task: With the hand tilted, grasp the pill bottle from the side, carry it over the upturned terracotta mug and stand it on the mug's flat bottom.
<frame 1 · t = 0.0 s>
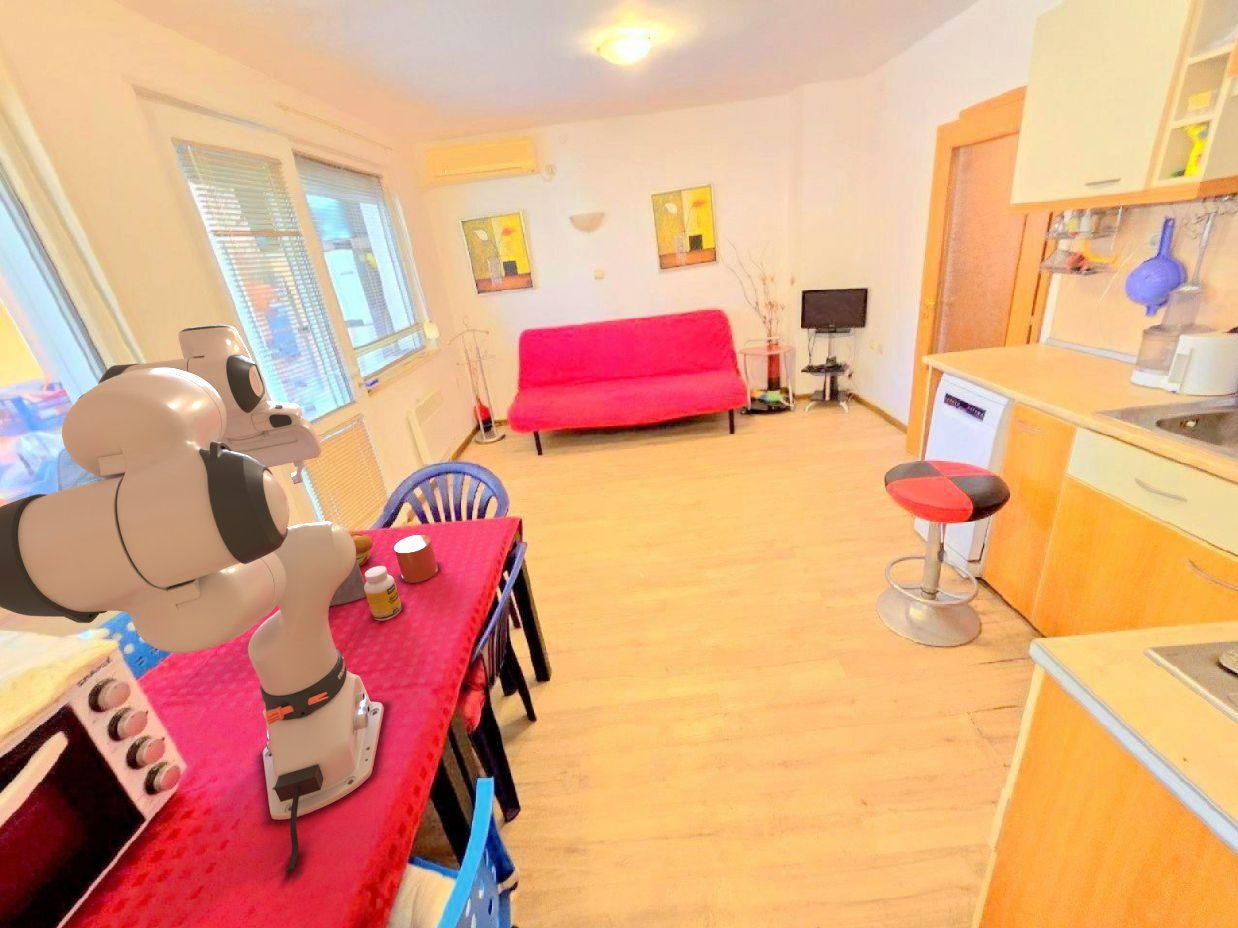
hand: (270, 488, 94), 39 cm above the table, tool pointing down, fingers open, 8 cm apart
pill bottle: (388, 613, 120), on the table
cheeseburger: (354, 562, 143), on the table
hip flask: (333, 602, 126), on the table
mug: (420, 572, 135), on the table
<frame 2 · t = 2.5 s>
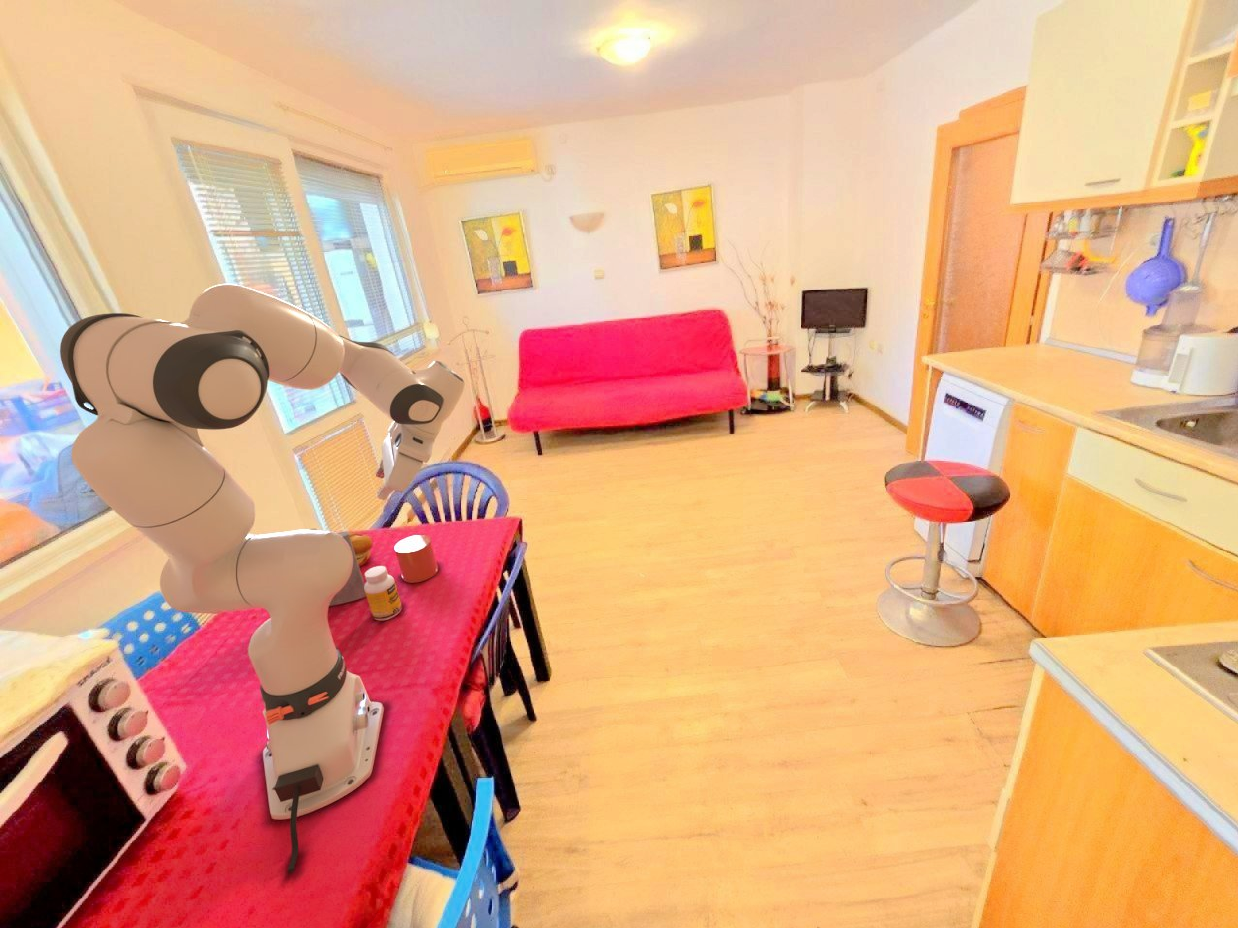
hand: (379, 486, 108), 32 cm above the table, tool tilted 40°, fingers open, 8 cm apart
nothing on the table moved.
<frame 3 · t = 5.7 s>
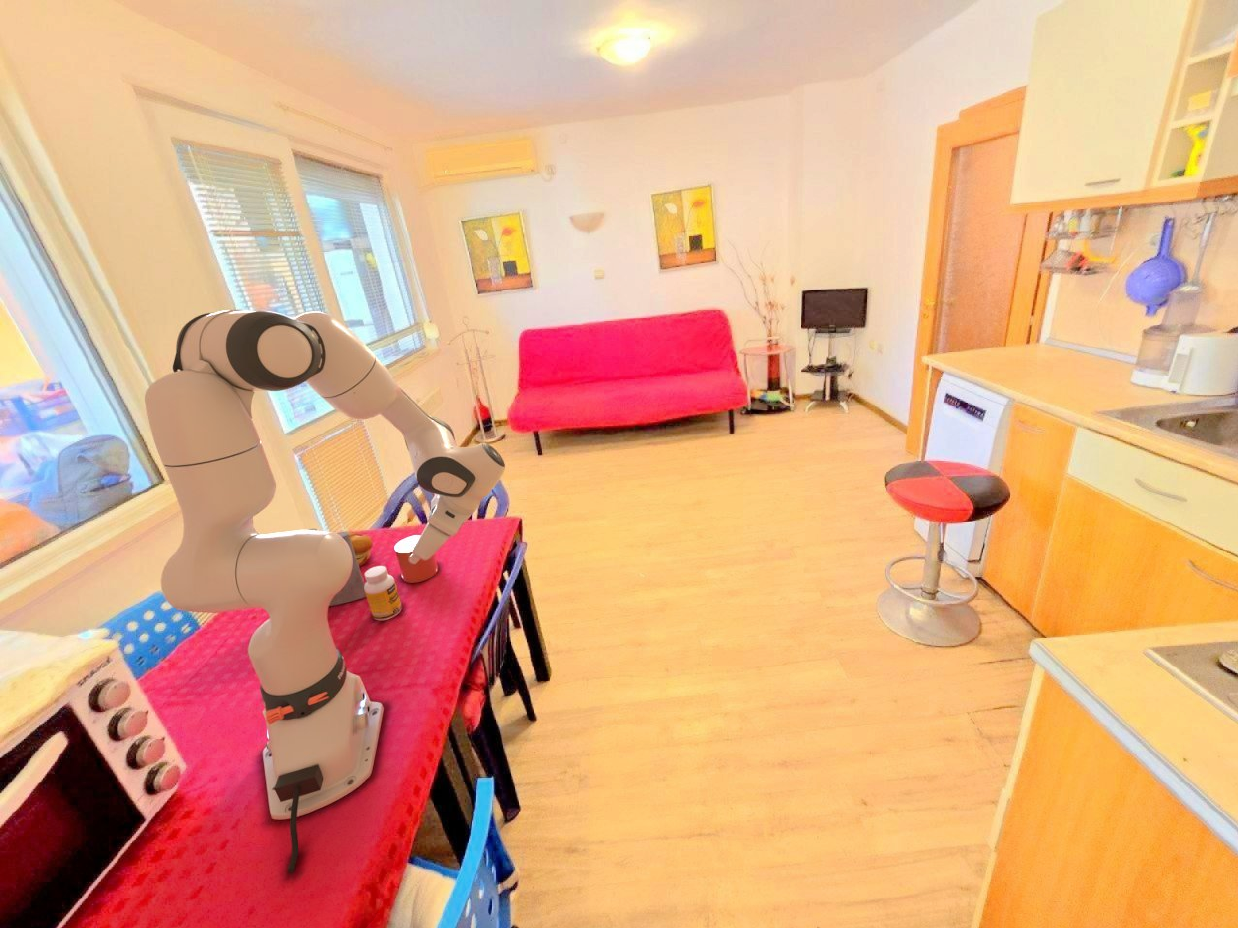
hand: (418, 549, 115), 16 cm above the table, tool tilted 45°, fingers open, 8 cm apart
nothing on the table moved.
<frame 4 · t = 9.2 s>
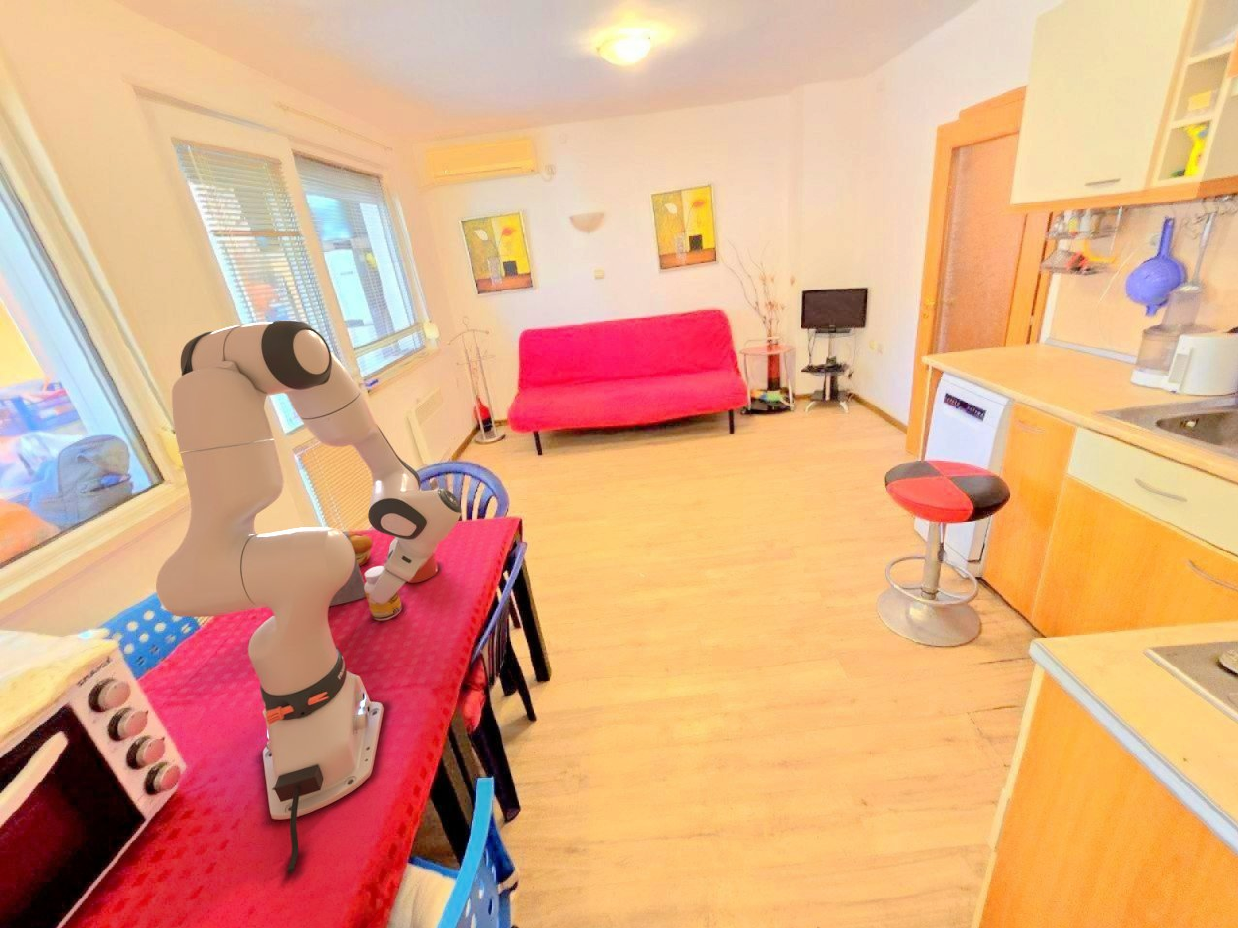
hand: (378, 590, 117), 6 cm above the table, tool tilted 45°, fingers closed on pill bottle, 6 cm apart
pill bottle: (388, 613, 120), on the table, touching gripper
everything else where it was.
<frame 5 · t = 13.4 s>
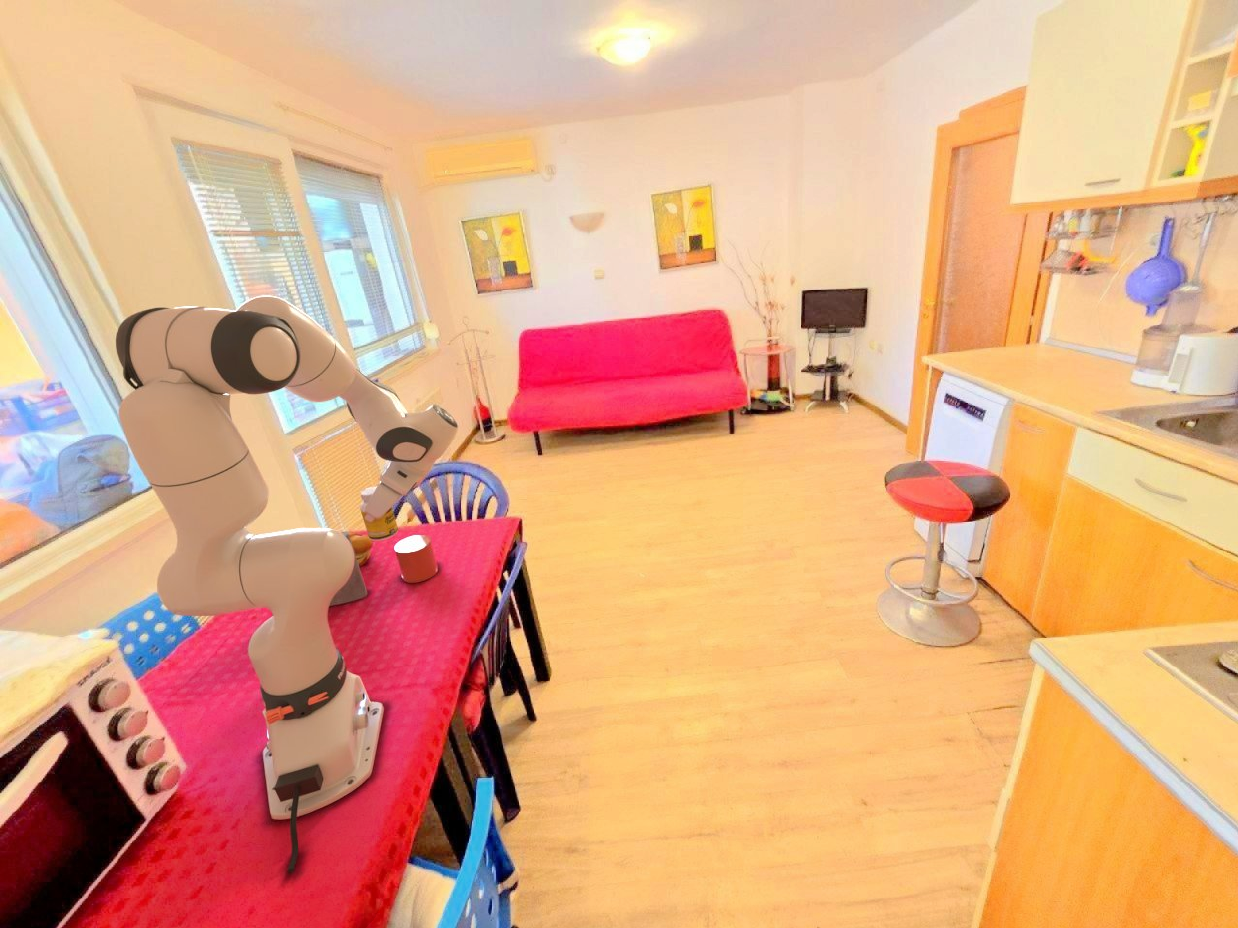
hand: (374, 511, 117), 24 cm above the table, tool tilted 45°, fingers closed on pill bottle, 6 cm apart
pill bottle: (384, 535, 119), point 17 cm above the table, touching gripper
everything else where it was.
when the fingers open (15 cm above the table, at t = 17.5 s): pill bottle stays where it is, resting on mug.
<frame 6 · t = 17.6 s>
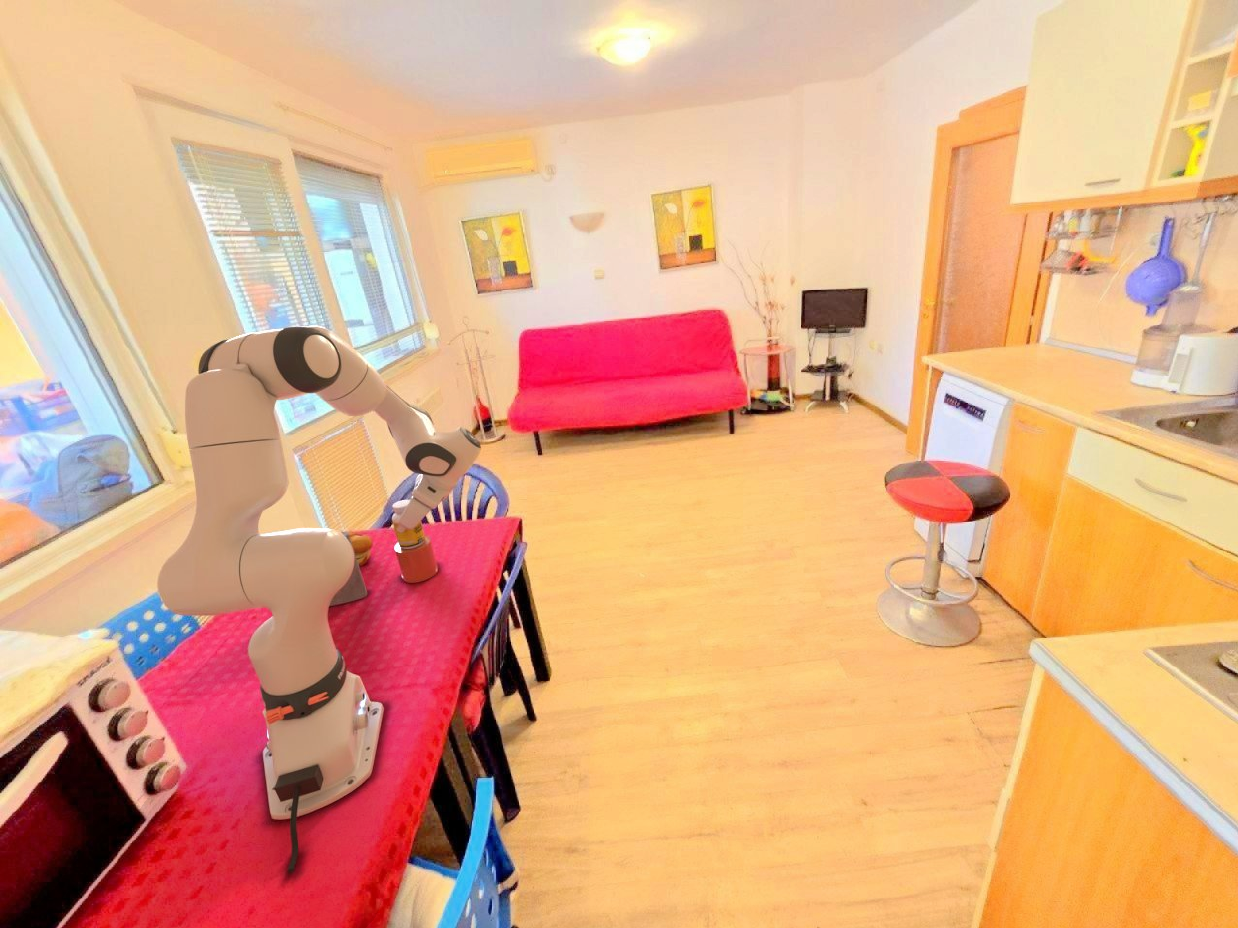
hand: (404, 522, 129), 15 cm above the table, tool tilted 45°, fingers open, 7 cm apart
pill bottle: (412, 544, 132), point 9 cm above the table, touching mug
everything else where it was.
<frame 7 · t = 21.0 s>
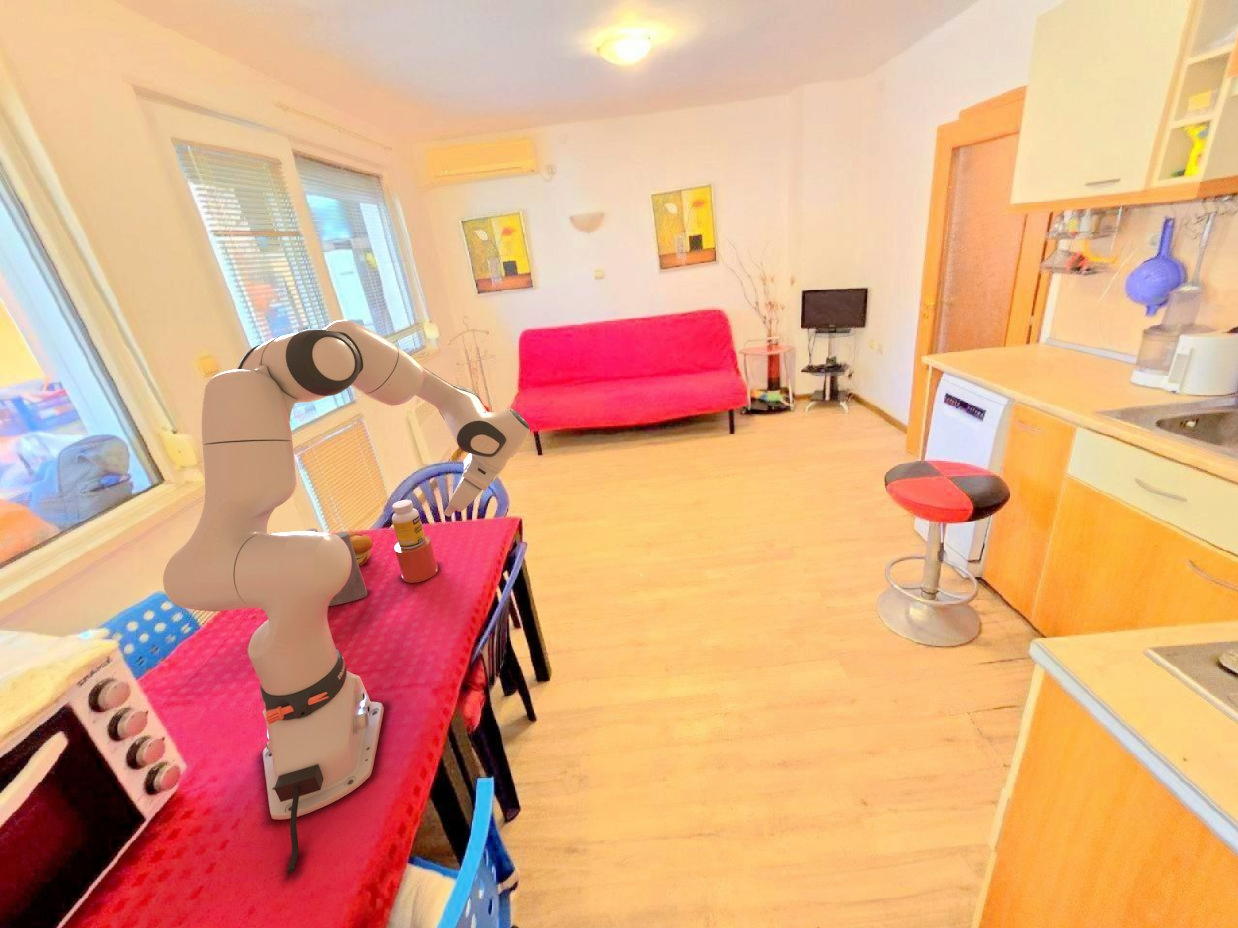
hand: (450, 505, 128), 19 cm above the table, tool tilted 45°, fingers open, 8 cm apart
nothing on the table moved.
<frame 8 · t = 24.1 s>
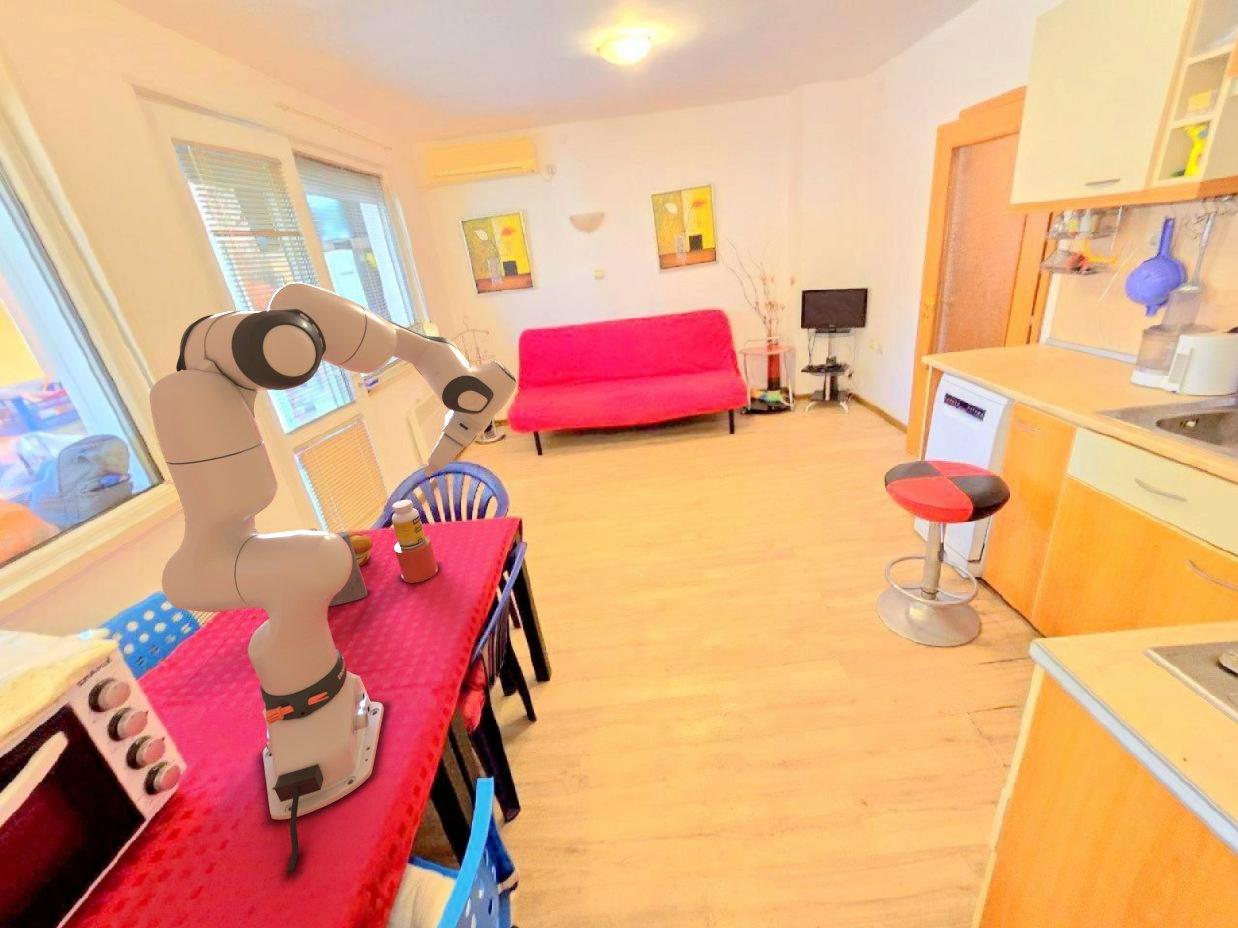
hand: (432, 466, 120), 31 cm above the table, tool tilted 45°, fingers open, 8 cm apart
nothing on the table moved.
at the end: pill bottle 0.0 cm off-centre on the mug, point 8.8 cm above the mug's base; pill bottle tilted 0°; the gripper is holding nothing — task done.
